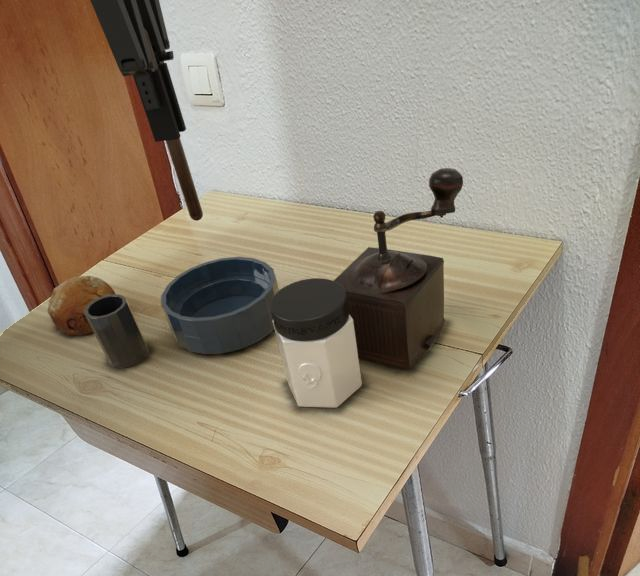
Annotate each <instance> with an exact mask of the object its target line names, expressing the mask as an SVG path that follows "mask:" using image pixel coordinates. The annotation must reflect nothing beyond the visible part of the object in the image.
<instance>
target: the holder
mask: <svg viewBox="0 0 640 576" xmlns="http://www.w3.org/2000/svg"><path fill="white" fill-rule="evenodd" d="M84 312H85V317H86V319H87V321H88V322H89V324H90V326H91V328H92V330H93V332H92V333H93V334H94V336H95V338H96V340H97V342H98V344H99V346H100V348H101V350H102V352H103V354H104V355H105V358H106V360H107V361H108V363H109V364H110V366H111V367H113V368H116V369H127V368H131V367H133V366H135V365H138V364H140V363H141V362H142V361H143V360H144V359H146V357H147V356H148V354H149V348H148V345H147V342H146V339H145V338H144V335H143V333H142V331H141V329H140V326H139V324H138V322H137V320H136V317H135V315H134V313H133V311H132V308H131V306H130V304H129V302H128V299H127V298H126V297H125V296H124V295H122V294H117V293H115V294H112V295H107V296H103V297H100V298H98V299H96V300H94V301H93V302H91V303H90V304H88V306H87V307H86V309H85V310H84Z"/></svg>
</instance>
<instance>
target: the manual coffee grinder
mask: <svg viewBox="0 0 640 576" xmlns="http://www.w3.org/2000/svg"><path fill="white" fill-rule="evenodd" d="M463 178H464V177H463V175H462V174H461V172H460V171H458V170H457V169H455V168H452V167H451V168H450V167H444V168H439V169H437V170H435V171H433V172H432V173H431V175H430V176H429V178H428V187H429V189H430V191H431V192H432V194H433V195H432V196H433V198H434V200H433V203H432V205H431V207H430V210H427V211H425V210H424V211H414V212H408V213H405V214H401V215H399V216H396V217H394V218H393V219H391V220H388V221H386V213H385V212H384V211H383V210H377V211H375V212H374V214H373V216H372V217H373V221H374V225H373V231H374V232H376V236H377V245H378V247H370V246H368V247H367V248H366V249H365V250H364V251H363V252H362V253H361V254H360V255H359V256H358V257H357V258H355V259H354V260H353V261H352V262H351V263H350V264H349V266H347V267H346V268H345V269H344V270H343V271H342V272H341V273H340V274H339V275H338V276H337V277H336V278H335V279H333V281H335V282H337V283H339V284H340V285H342V286H343V287H344V289H345V291H346V294H347V301H348V308H349V314H350V316H351V317H352V319H353V322H354V330H355V337H356V344H357V351H358V359H359V360H362V361H366V362H368V363H369V362H370V363H374V364H376V365H381V366H385V367H388V368H392V369H396V370H400V371H411V370H412V369H413V368H414V366H415V365H416V364H418V362H419V361H420V360H421V359H422V358H423V356H425V354H426V353H427V352H428V351H429V350H430V349H431V348H432V347H433V346H434V344H435V343H436V341H437V338H438V336H439V335H440V333H441V332H442V329H443V327H444V325H445V323H446V318H445V278H444V277H445V275H444V274H445V273H444V270H445V269H444V267H445V266H444V264H445V260H444V258H443V257H439V256H434V255H428V254H423V253H415V252H409V251H402V250H396V249H389V248H388V247H387V237H386V235H387V234H386V232H387V231H391V230H393V229H395V228H397V227H398V226H400V225H402V224H405V223H407V222H410V221H416V220H425V219H429V218H432V217H440V218H441V219H442V218H444V216H447V215H448V214H454V213H455V212H456V205H455V200H456V198H457V196H458V194H460V192H461V191H462V188H463V186H464V179H463ZM385 221H386V222H385Z"/></svg>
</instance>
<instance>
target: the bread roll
mask: <svg viewBox="0 0 640 576" xmlns="http://www.w3.org/2000/svg"><path fill="white" fill-rule="evenodd" d="M112 294H116V292H115V290H114V289H113V287H112V286H111V285H110V284H109V283H107V281H105V280H103V279H101V278H99V277H96V276H93V275H82V276H74V277H70V278H69V279H67V280H65V281H63V282H61V283H60V284H59V285H58V286H55V287H54V288H53V290H52V294H51V295H50V297H49V300H48V307H47V313H48V315H49V317H50V318H51V321H52V322H53V324H54V325H55V327H57V329H58V330H60V331H61V332H63V333H64V334H67V335H68V336H84V335H89V334H92V333H94V332H93V330H92V328H91V326H90V324H89V322H88V321H87V319H86V317H85V312H84V310H85V309H86V307H87V306H88V304H90V303H91V302H93V301H94V300H96V299H98V298H100V297H103V296H107V295H112Z"/></svg>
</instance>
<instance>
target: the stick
mask: <svg viewBox="0 0 640 576" xmlns="http://www.w3.org/2000/svg"><path fill="white" fill-rule="evenodd" d="M144 30H145V34H146V37H147V41H148V44H149V48H150V51H151V55H152V58H153V62H154V65H155V69H159V68H158V65H157V62H156V58H155V55H154V52H153V48H152V45H151V42H150V39H149V35H148V32H147V31H146V29H145V28H144ZM165 144H166V148H167V150H168V153H169V156H170V159H171V162H172V165H173V168H174V172H175V175H176V178H177V181H178V184H179V187H180V191H181V193H182V196H183V199H184V203H185V205H186V209H187V211H188V215H189V217H190V219H191V220H193V221H196V222H197V221H200V220H201V219H202V218H203V216H204V213H203V209H202V205H201V202H200V198H199V196H198V193H197V189H196V186H195V183H194V180H193V176H192V173H191V170H190V167H189V163H188V160H187V157H186V154H185V150H184V147H183V143H182V140H181V137H180V138H179V139H174V140H166V141H165Z"/></svg>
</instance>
